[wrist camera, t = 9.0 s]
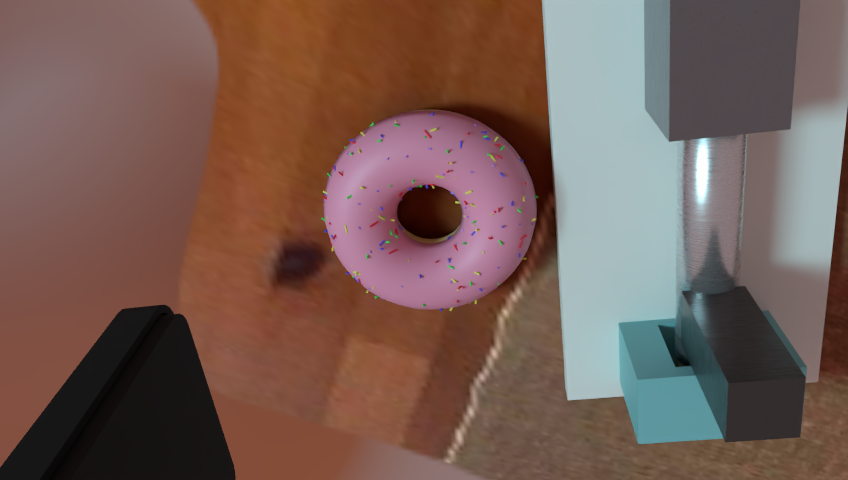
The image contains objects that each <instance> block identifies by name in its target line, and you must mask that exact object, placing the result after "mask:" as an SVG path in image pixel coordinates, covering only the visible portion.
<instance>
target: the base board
mask: <svg viewBox="0 0 848 480" xmlns="http://www.w3.org/2000/svg"><path fill="white" fill-rule="evenodd" d="M542 8H543V24H544V41H545V58H546V74H547V91H548V107H549V124H550V140H551V157H552V173H553V190H554V206H555V223H556V239H557V256H558V273H559V289H560V306H561V322H562V339H563V355H564V372H565V388H566V393H567V398H568V400H578V399H592V398H605V397H619V396H624V394H623V391H622V388H621V384H620V367H619V326H618V323H621V322H633V321H646V320H658V319H670V318H675V300H676V217H677V141H673V142H669V141H668V140H667V138H666V137H665V136H664V134H663V133H662V132H661V130H660V129H659V128H658V126H657V125H656V123H655V122H654V121H653V119H652V118H651V117H650V115H649V114H648V113H647V111H646V110H645V68H644V0H542ZM847 107H848V0H800V13H799V26H798V39H797V52H796V65H795V78H794V92H793V105H792V118H791V129H789V130H779V131H770V132H760V133H750V134H748V135H747V154H746V173H745V193H744V212H743V231H742V251H741V270H740V286H745V287H746V288H747V290H748V291H749V293H750V294H751V296H752V297H753V299H754V300H755V302H756V303H757V305H758V306H759V308H760V309H761V311H768V310H769V312H770V313H771V315H772V316H773V318H774V319H775V321H776V322H777V324H778V325H779V327H780V328H781V329H782V331H783V332H784V334H785V335H786V337H787V338H788V340H789V341H790V343H791V344H792V346H793V347H794V349H795V350H796V352H797V353H798V354H799V356H800V357H801V359H802V360H803V362H804V363H805V365H806V366H807V374H806V383H811V382H818V378H819V369H820V359H821V350H822V341H823V331H824V322H825V313H826V303H827V294H828V285H829V275H830V266H831V257H832V247H833V238H834V229H835V219H836V210H837V201H838V191H839V182H840V173H841V163H842V154H843V145H844V135H845V126H846V117H847Z"/></svg>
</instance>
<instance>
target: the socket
mask: <svg viewBox="0 0 848 480" xmlns="http://www.w3.org/2000/svg"><path fill="white" fill-rule="evenodd" d="M762 312H763V314H764V315H765V317H766V318H767V320H768V321H769V323H770V324H771V326H772V327H773V329H774V330H775V332H776V333H777V335H778V336H779V338H780V339H781V341H782V342H783V344H784V345H785V347H786V348H787V350H788V351H789V353H790V354H791V356H792V357H793V359H794V360H795V362H796V363H797V365H798V366H799V368H800V369H801V371H802V372H803V374H804V375H805V377H806V374H807V366H806V365H805V363H804V362H803V360H802V359H801V357H800V356H799V354H798V353H797V352H796V350H795V349H794V347H793V346H792V344H791V343H790V341H789V340H788V338H787V337H786V335H785V334H784V332H783V331H782V329H781V328H780V327H779V325H778V324H777V322H776V321H775V319H774V318H773V316H772V315H771V313H770V312H769V310H768V311H762ZM618 326H619V367H620V384H621V388H622V391H623V394H624V398H625V401H626V404H627V408H628V411H629V414H630V418H631V421H632V425H633V428H634V431H635V435H636V438H637V441H638V444H646V443H661V442H676V441H691V440H706V439H721V438H723V436H722V433H721V431H720V429H719V427H718V424H717V422H716V420H715V418H714V416H713V413H712V411H711V409H710V407H709V405H708V402H707V400H706V398H705V396H704V393H703V391H702V389H701V387H700V385H699V382H698V380H697V378H696V376H695V373H694V371H693V369H692V367H691V366H685V367H675V318H670V319H658V320H646V321H633V322H621V323H618ZM805 384H806V383H805ZM804 394H805V393H804ZM803 404H804V403H803ZM802 414H803V413H802ZM801 424H802V423H801Z"/></svg>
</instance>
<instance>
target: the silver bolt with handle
mask: <svg viewBox="0 0 848 480" xmlns="http://www.w3.org/2000/svg"><path fill="white" fill-rule="evenodd" d="M747 135H748V134H741V135H731V136H721V137H712V138H702V139H692V140H683V141H677V217H676V300H675V367H685V366H691V367H692V369H693V371H694V373H695V376H696V378H697V380H698V382H699V385H700V387H701V389H702V391H703V393H704V396H705V398H706V400H707V402H708V405H709V407H710V409H711V411H712V413H713V416H714V418H715V420H716V422H717V424H718V427H719V429H720V431H721V433H722V436H723V438H724V440H725V442H736V441H751V440H766V439H781V438H796V437H800V433H801V423H802V413H803V403H804V393H805V383H806V377H805V375H804V374H803V372H802V371H801V369H800V368H799V366H798V365H797V363H796V362H795V360H794V359H793V357H792V356H791V354H790V353H789V351H788V350H787V348H786V347H785V345H784V344H783V342H782V341H781V339H780V338H779V336H778V335H777V333H776V332H775V330H774V329H773V327H772V326H771V324H770V323H769V321H768V320H767V318H766V317H765V315H764V314H763V312H762V311H761V309H760V308H759V306H758V305H757V303H756V302H755V300H754V299H753V297H752V296H751V294H750V293H749V291H748V290H747V288H746V287H745V286H740V270H741V251H742V231H743V212H744V193H745V173H746V154H747Z"/></svg>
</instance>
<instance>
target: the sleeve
mask: <svg viewBox="0 0 848 480" xmlns="http://www.w3.org/2000/svg"><path fill="white" fill-rule="evenodd" d="M799 13H800V0H644V68H645V110H646V111H647V113H648V114H649V115H650V117H651V118H652V119H653V121H654V122H655V123H656V125H657V126H658V128H659V129H660V130H661V132H662V133H663V134H664V136H665V137H666V138H667V140H668V141H669V142H673V141H683V140H692V139H702V138H712V137H721V136H731V135H741V134H750V133H760V132H770V131H779V130H789V129H791V118H792V105H793V92H794V78H795V65H796V52H797V39H798V26H799Z"/></svg>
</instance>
